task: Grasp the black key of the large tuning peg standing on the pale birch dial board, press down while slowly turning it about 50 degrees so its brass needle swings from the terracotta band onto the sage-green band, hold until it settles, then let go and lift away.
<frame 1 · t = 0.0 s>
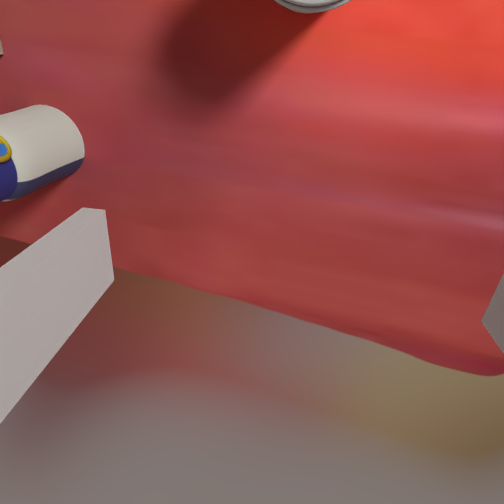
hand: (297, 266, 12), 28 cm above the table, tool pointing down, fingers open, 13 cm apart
water bottle: (50, 139, 40), on the table
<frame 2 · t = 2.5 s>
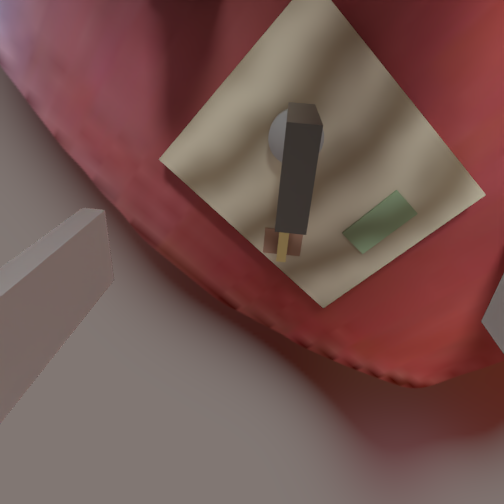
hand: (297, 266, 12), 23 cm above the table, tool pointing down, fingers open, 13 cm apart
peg: (289, 211, 27), point 8 cm above the table, hinge at 0.0°
dial board: (317, 170, 34), on the table
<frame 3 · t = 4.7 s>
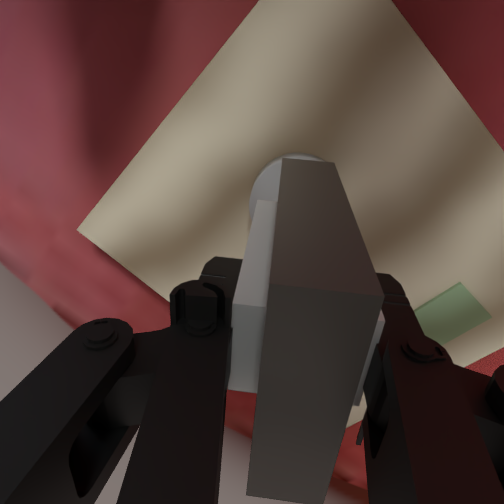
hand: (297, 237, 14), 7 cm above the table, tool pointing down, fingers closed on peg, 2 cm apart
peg: (284, 351, 15), point 8 cm above the table, hinge at 0.0°, touching gripper
dial board: (330, 243, 21), on the table
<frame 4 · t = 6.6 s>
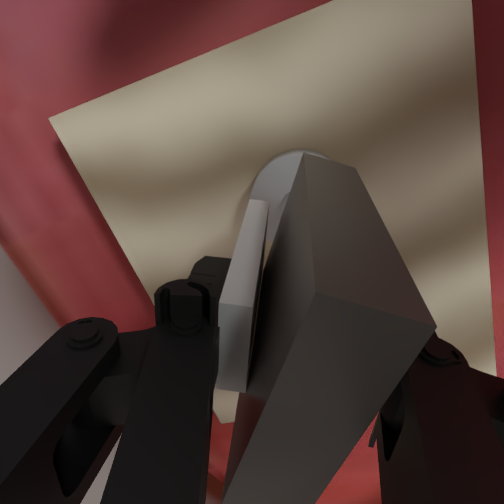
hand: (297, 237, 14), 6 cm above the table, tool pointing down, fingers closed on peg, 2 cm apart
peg: (264, 351, 14), point 8 cm above the table, hinge at 15.4°, touching gripper
dial board: (300, 250, 21), on the table
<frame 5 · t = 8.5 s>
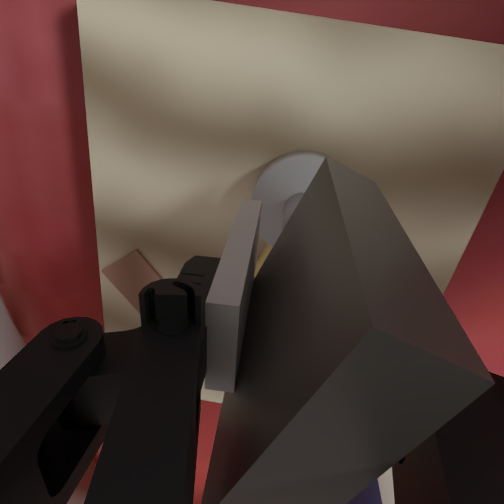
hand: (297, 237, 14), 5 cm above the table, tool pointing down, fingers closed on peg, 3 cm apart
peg: (246, 357, 13), point 8 cm above the table, hinge at 32.2°, touching gripper
dial board: (269, 248, 21), on the table
water bottle: (378, 474, 30), on the table
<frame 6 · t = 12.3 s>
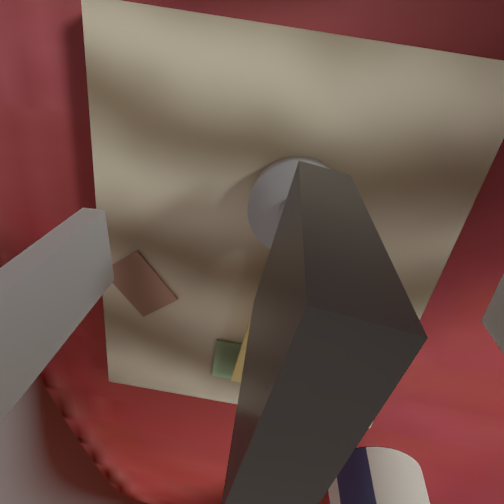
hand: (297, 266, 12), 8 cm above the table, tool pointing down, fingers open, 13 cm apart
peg: (263, 358, 14), point 8 cm above the table, hinge at 43.6°
dial board: (265, 250, 21), on the table
water bottle: (372, 471, 31), on the table
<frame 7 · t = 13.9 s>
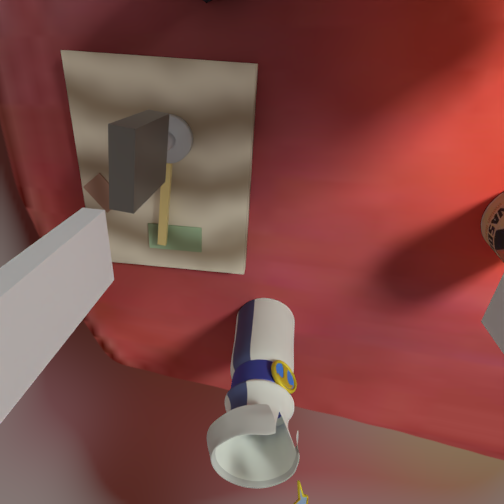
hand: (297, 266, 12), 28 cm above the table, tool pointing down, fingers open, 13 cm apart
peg: (148, 198, 33), point 8 cm above the table, hinge at 43.8°
dial board: (168, 171, 40), on the table
water bottle: (264, 319, 49), on the table
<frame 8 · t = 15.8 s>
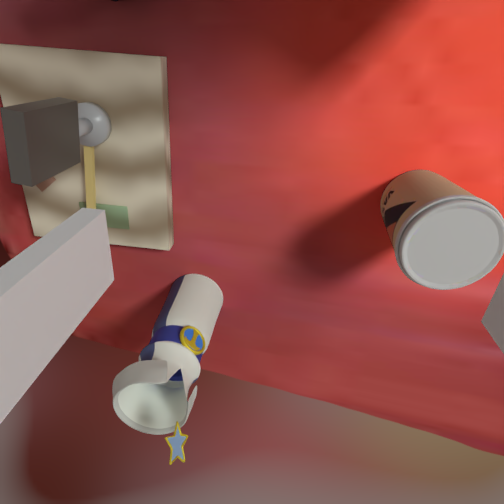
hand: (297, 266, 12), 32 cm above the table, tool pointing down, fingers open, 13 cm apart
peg: (63, 177, 37), point 8 cm above the table, hinge at 43.8°
coffee cup: (413, 200, 43), on the table
dial board: (97, 154, 44), on the table
water bottle: (196, 294, 53), on the table
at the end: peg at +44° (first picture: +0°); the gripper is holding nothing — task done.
